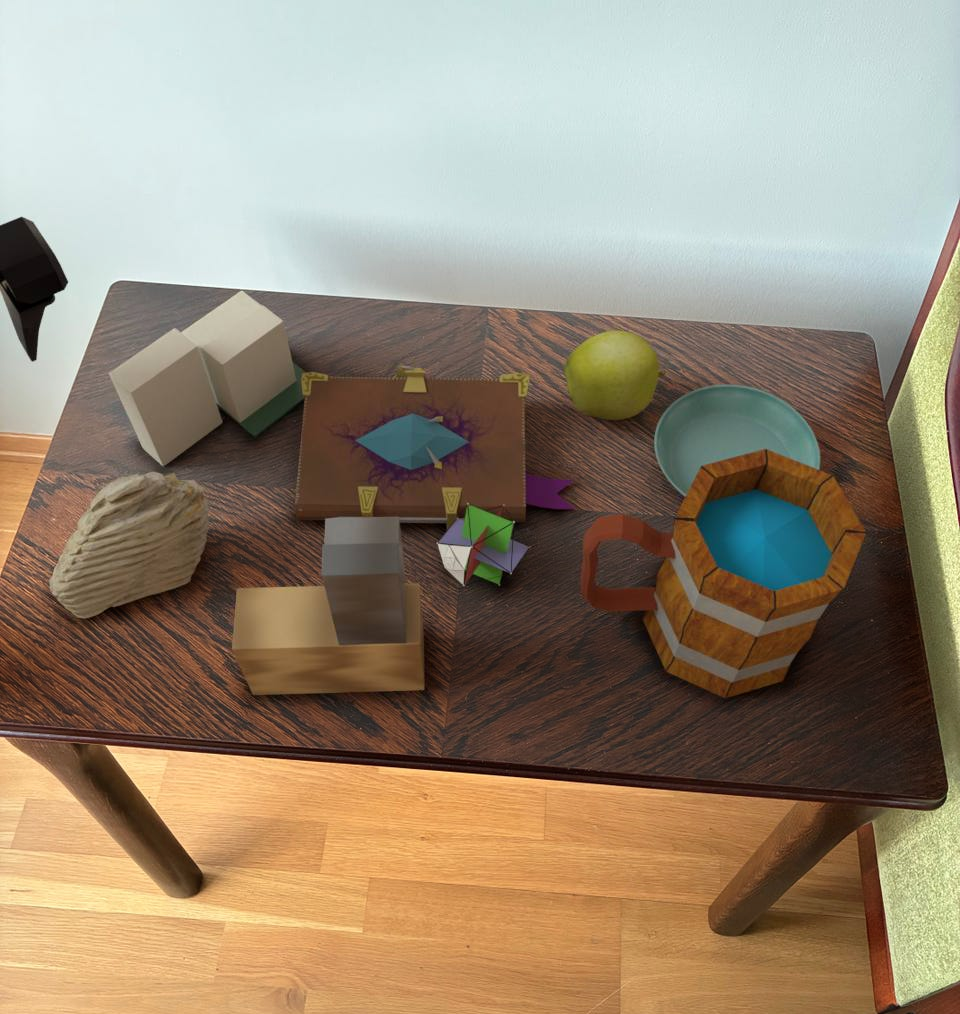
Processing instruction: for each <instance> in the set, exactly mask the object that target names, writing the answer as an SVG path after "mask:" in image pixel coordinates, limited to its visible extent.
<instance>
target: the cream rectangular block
mask: <svg viewBox="0 0 960 1014" xmlns="http://www.w3.org/2000/svg"><path fill="white" fill-rule="evenodd" d="M181 332H182V331H180V330H179V329H177V328H176V327H174V328H172V329H171V330H169V331H168V332H166V333H165V334H164V335H162V336H161V337H159V338H158V339H157V340H155V341H153V342H152V343H150V344H149V345H148V346H146V347H144V348H143V349H141V350H140V351H139V352H138V353H136V354H135V355H133V356H131V357H130V358H129V359H127V360H126V361H124V362H123V363H121V364H120V365H118V366H117V367H115V368H114V369H112V370H110V372H108V375H109V377H110V380H111V382H112V384H113V386H114V388H115V390H116V393H117V395H118V397H119V399H120V401H121V404H122V406H123V408H124V410H125V413H126V414H127V417H128V420H129V421H130V424H131V425H132V428H133V431H134V432H135V435H136V437H137V439H138V441H139V443H140V445H141V448H142V449H143V450H144V451H145V452H146V453H147V454H148V455H149V456H151V457H152V458H153V459H154V460H155V461H156V462H157V463H159V464H160V466H162V467H165V466H166V465H168V464H169V463H170V462H172V461H173V460H174V459H176V458H177V457H178V456H180V455H181V454H183V453H184V452H185V451H187V450H188V449H189V448H191V447H192V446H194V444H197V442H199V441H200V440H201V439H203V438H204V437H206V436H207V435H208V434H210V433H211V432H212V431H213V430H215V429H216V428H218V427H219V426H220V425H222V424H223V418H222V416H221V413H220V409H219V407H217V404H216V401H215V398H214V395H213V392H212V389H211V386H210V383H209V380H208V377H207V374H206V371H205V368H204V365H203V362H202V359H201V356H200V353H199V350H198V347H197V345H195V344H194V343H193V342H192V341H191V340H189V339H188V338H187V337H186V336H184V335H183V334H182V333H181Z"/></svg>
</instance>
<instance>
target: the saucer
mask: <svg viewBox="0 0 960 1014" xmlns="http://www.w3.org/2000/svg"><path fill="white" fill-rule="evenodd" d="M653 446H654V448H653V449H654V453H655V457H656V461H657V463H658V465H659V468H660V470H661V471H662V473H663V475H664V477H665V478H666V479H667V481H668V482H669V483H670V484H671V486H672V487H673V488H674V489H675V490H676V491H677V492H678V493H679V494H680V495H681V496H682V497H684V498H685V497H686V495H687V493H688V491H689V489H690V487H691V485H692V483H693V481H694V479H695V477H696V475H697V473H698V471H699V469H700V467H701V466H703V465H707V464H710V463H714V462H718V461H722V460H725V459H729V458H733V457H737V456H741V455H744V454H748V453H752V452H756V451H760V450H763V449H767V450H770V451H772V452H775V453H777V454H780V455H782V456H785V457H788V458H790V459H793V460H795V461H798V462H800V463H803V464H805V465H808V466H810V467H813V468H815V469H818V470H820V468H821V451H820V447H819V446H820V445H819V442H818V440H817V437H816V434H815V433H814V430H813V429H812V428H811V426H810V425H809V423H808V422H807V420H806V418H804V417H803V415H801V413H800V412H798V411H797V410H796V409H795V408H794V407H793V406H792V405H790V404H789V403H787V402H786V401H785V400H783V399H782V398H779V397H778V396H776V395H773V394H771V393H769V392H767V391H764V390H761V389H758V388H755V387H751V386H747V385H742V384H726V383H725V384H713V385H707V386H703V387H699V388H696V389H694V390H691V391H689V392H686V393H685V394H683V395H682V396H680V397H678V398H677V399H676V400H674V401H673V402H672V403H671V404H670V405H669V406H668V407H667V408H666V409H665V410H664V412H663V413H662V415H661V416H660V418H659V420H658V422H657V424H656V428H655V432H654V440H653Z"/></svg>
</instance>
